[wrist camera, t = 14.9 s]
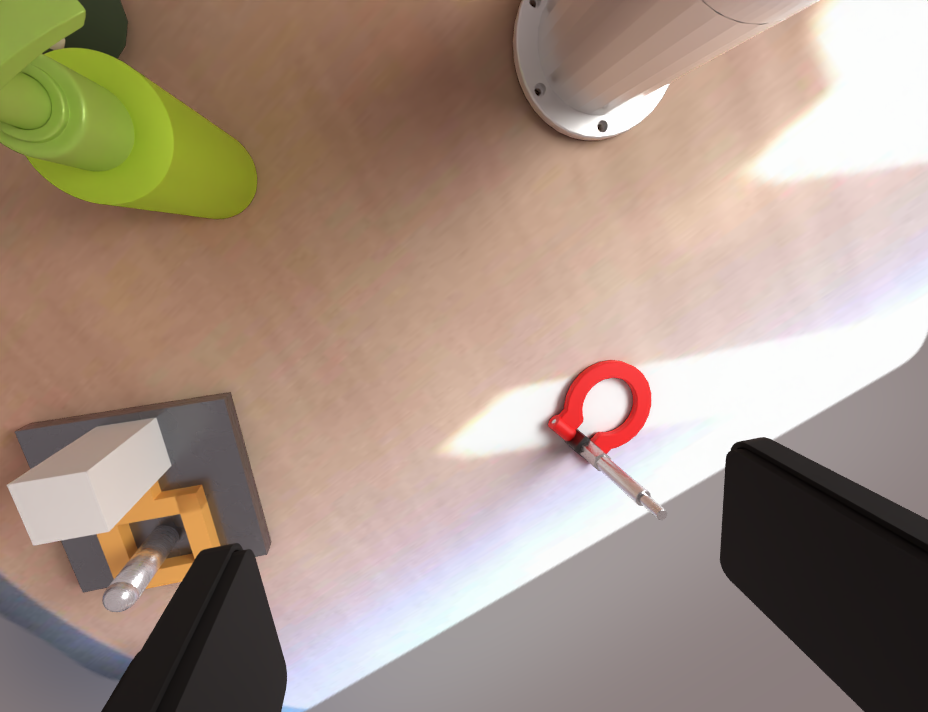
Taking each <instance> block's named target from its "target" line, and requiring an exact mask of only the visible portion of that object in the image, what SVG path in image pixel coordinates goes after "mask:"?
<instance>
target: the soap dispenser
mask: <svg viewBox="0 0 928 712" xmlns="http://www.w3.org/2000/svg"><path fill="white" fill-rule="evenodd" d="M85 17H86V10H85V8H84V7H83V6H82V4H81V3H80V2H79V1H78V0H0V143H2V144H3V145H5V146H6V147H8V148H10V149H12V150H14V151H16V152H18V153H20V154H23V155H25V156H26V157H27V159H28V160H29V162H30V163H31V164H32V165H33V167H34V168H35V169H36V170H37V171H38V172H39V173H40V174H41V175H42V176H43V177H44V178H45V179H46V180H48V181H49V182H50V183H51V184H53V185H54V186H56V187H57V188H59V189H60V190H62V191H64V192H66V193H67V194H69V195H72V196H74V197H76V198H79V199H82V200H85V201H88V202H92V203H97V204H105V205H112V206H120V207H128V208H135V209H143V210H150V211H158V212H166V213H173V214H181V215H189V216H196V217H204V218H212V219H224V218H229V217H233V216H235V215H237V214H239V213H241V212H242V211H243V210H245V209H246V208H247V207H248V205H249V204H250V203H251V201H252V200H253V198H254V195H255V192H256V188H257V173H256V169H255V165H254V163H253V160H252V158H251V156H250V155H249V153H248V152H247V150H246V149H245V148H244V147H243V146H242V145H241V144H240V143H239V142H238V141H237V140H236V139H234V138H233V137H232V136H230V135H229V134H227V133H226V132H224V131H223V130H221V129H220V128H219V127H217V126H216V125H214V124H213V123H211V122H210V121H208V120H207V119H205V118H204V117H203V116H201V115H200V114H198V113H197V112H195V111H194V110H192V109H191V108H190V107H188V106H187V105H185V104H184V103H182V102H181V101H179V100H178V99H176V98H175V97H174V96H172V95H171V94H169V93H168V92H166V91H165V90H163V89H162V88H161V87H159V86H158V85H156V84H155V83H153V82H152V81H150V80H149V79H147V78H146V77H145V76H143V75H142V74H140V73H139V72H137V71H136V70H134V69H133V68H131V67H130V66H129V65H127V64H125V63H124V62H122V61H120V60H118V59H116V58H114V57H112V56H110V55H108V54H105V53H102V52H99V51H95V50H91V49H84V48H63V49H58V50H54V51H50V52H48V53H45V54H42V53H43V52H45V51H46V50H47V49H49V48H50V47H51V46H53V45H54V44H56V43H57V42H59V41H60V40H62V39H63V38H65V37H67V36H68V35H70V34H72V33H73V32H75V31H77V30H78V29H80V28H81V27H82V26H83V25H84V22H85Z"/></svg>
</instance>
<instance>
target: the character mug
mask: <svg viewBox="0 0 928 712" xmlns="http://www.w3.org/2000/svg"><path fill="white" fill-rule="evenodd" d="M78 1H79V2H80V3H81V4H82V6H83V7H84V8H85V10H86V17H85V22H84V25H83V26H82V27H81V28H80V29H78V30H77V31H75V32H73V33H72V34H70V35H68V36H67V37H65V38H63V39H62V40H60V41H59V42H57V43H56V44H54V45H53V46H51V47H50V48H49V49H47V50H46V51H45V52H43V53H42V54H45V53H48V52H50V51H54V50H58V49H63V48H84V49H91V50H95V51H99V52H102V53H105V54H108V55H110V56H112V57H114V58H116V59H117V58H118V57H119V55H120V54H121V52H122V50H123V49H124V47H125V46H126V35H127V24H128V21H127V18H126V15H125V12H124V9H123V7H122V4H121V1H120V0H78Z"/></svg>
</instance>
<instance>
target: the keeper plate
mask: <svg viewBox="0 0 928 712" xmlns="http://www.w3.org/2000/svg"><path fill="white" fill-rule="evenodd" d="M149 418H157V421H158V424H159V428H160V431H161V434H162V437H163V440H164V443H165V447H166V450H167V453H168V456H169V459H170V462H171V467H170V468H169V469H168V470H167V471H166V472H165V473H164V474H163V475H162V476H161V477H160V478H159V479H158V483H159V486H160V489H161V492H162V491H168V490H174V489H179V488H185V487H191V486H196V485H202V486H203V489H204V492H205V496H206V499H207V502H208V506H209V509H210V513H211V516H212V519H213V523H214V526H215V529H216V533H217V536H218V539H219V543H220V546H223V545H228V544H233V543H239V544H240V545H241V546H242V548H243V550H247V549H251V550H252V551H253V553H254V555H255V557H257V556H262V555H267V553H268V550H269V548H270V545H271V540H270V536H269V532H268V528H267V525H266V521H265V517H264V514H263V510H262V506H261V503H260V499H259V495H258V492H257V488H256V484H255V480H254V477H253V473H252V469H251V466H250V462H249V458H248V455H247V451H246V447H245V444H244V440H243V436H242V432H241V429H240V425H239V421H238V418H237V414H236V410H235V407H234V403H233V399H232V396H231V392H229V393H223V394H216V395H210V396H204V397H197V398H191V399H184V400H178V401H171V402H165V403H158V404H152V405H145V406H139V407H133V408H126V409H120V410H113V411H107V412H100V413H94V414H87V415H81V416H74V417H68V418H62V419H55V420H49V421H42V422H36V423H30V424H28V425H27V426H25V427H23V428H21V429H19V430H17V431H15V434H16V436H17V438H18V441H19V443H20V445H21V448H22V450H23V452H24V455H25V457H26V460H27V462H28V464H29V467H30V469H32V468H33V467H35V466H37V465H38V464H40V463H41V462H43V461H44V460H46V459H47V458H49V457H50V456H52V455H54V454H55V453H57V452H58V451H60V450H61V449H63V448H64V447H66V446H67V445H69V444H71V443H72V442H74V441H75V440H77V439H78V438H80V437H81V436H83V435H84V434H86V433H87V432H89V431H91V430H92V429H94V428H95V427H97V426H103V425H110V424H116V423H123V422H129V421H136V420H143V419H149ZM129 526H130V529H131V532H132V534H133V537H134V540H135V543H136V546H137V548H138V550H137V551H136V552H135V554H134V555H133V556H132V557H131V559H130V560H129V561H128V562H127V564H126V565H125V566H124V567H123V569H122V570H121V571H120V573H119V574H118V575H117V576H116V578H115V579H114V578H113V576H112V573H111V570H110V568H109V565H108V563H107V560H106V557H105V555H104V552H103V550H102V547H101V545H100V542H99V539H98V537H97V534H94V535H89V536H83V537H78V538H72V539H67V540H62V541H61V542H62V544H63V547H64V549H65V551H66V554H67V556H68V558H69V561H70V563H71V566H72V568H73V570H74V573H75V575H76V577H77V580H78V582H79V584H80V587H81V589H82V591H83V592H88V591H92V590H97V589H102V588H107V587H108V588H107V589H106V590H105V592H104V595H103V605H104V607H105V608H106V609H107V610H109V611H111V612H121V611H124V610H127V609H128V608H130V607H131V606H133V605H134V604H135V603H136V601H137V600H138V599H139V597H140V596H141V594H142V593H143V591H144V590H145V588H146V587H147V585H148V584H149V582H150V581H151V580H152V578H153V577H154V575H155V574H156V572H157V571H158V569H159V568H160V566H161V565H162V563H163V562H164V561H165V559H167V558H172V557H177V556H182V555H187V554H193V553H192V549H191V546H190V543H189V540H188V537H187V534H186V531H185V528H184V525H183V521H182V518H181V515H180V514H177V515H171V516H166V517H160V518H155V519H149V520H144V521H138V522H133V523H129Z"/></svg>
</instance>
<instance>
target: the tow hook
mask: <svg viewBox="0 0 928 712" xmlns="http://www.w3.org/2000/svg"><path fill="white" fill-rule="evenodd" d="M608 378H620V379H622V380H624V381H625V382H626V383H627V384H628V385H629V387H630V388H631V391H632V395H633V405H632V410H631V412H630V414H629V416H628V418H627V419H626V420H625V422H624V423H623V424H622V425H620V426H619V427H618V428H616V429H614V430H612V431H608V432H598V433H596V434H595V435H594V436H593V437H592V438H591V439H589V438H587V437H586V436H585V435H584V434H583V433H581V432H580V431H579V430H578V429H577V428H578V427H579V426H580V425H581V424H582V422H583V414H582V407H583V402H584V399H585V397H586V395H587V393H588V392H589V391H590V389H591V388H592V387H593V386H594V385H596V384H597V383H598V382H600V381H602V380H604V379H608ZM650 407H651V391H650V387H649V384H648V381H647V380H646V378H645V377H644V375H643V374H642V373H641V372H640V371H639V370H638V369H637V368H636V367H634V366H632V365H629V364H627V363H625V362H622V361H615V360H608V361H602V362H598V363H596V364H594V365H592V366H589V367H588V368H587V369H585V370H584V371H583V372H581V373H580V374H579V375H578V376H577V378H576V379H575V380H574V381H573V383H572V384H571V386H570V388H569V390H568V392H567V395H566V399H565V404H564V409H563V410H562V411H561V412H560V414H559V415H555V416H553V417H552V418H551V419H550V420H549V423H548V426H549V428H551V429H552V430H553V431H554V432H555V433H557V434H558V435H559V436H560V437H562V438H563V439H564V441H565V442H566V443H567V444H568V445H569V446H570V447H571V448H572V449H573V450H574V451H576V452H577V453H578V454H579V455H581V456H582V457H583V458H584V459H585V460H587V461H588V462H589V463H590V464H591V465H592V466H594V467H595V468H596V469H597V470H598V471H602V472H603V473H604V474H605V475H606V476H607V477H608V478H609V479H610V480H611V481H613V482H614V483H615V484H616V485H617V486H618V487H619V488H620V489H621V490H622V491H623V492H625V493H626V494H627V495H628V496H629V497H630V498H631V499H632V500H633V501H634V502H635V503H637V504H638V505H640V506H644V507H645V508H646V509H648V510H649V511H650V512H651V513H652V514H653V515H654V516H655V517H656V518H658V519H659V520H663V519H665V518H666V516H667V511H666V510H665V509H664V508H662V507H661V506H660V505H659V504H658V503H657V502H655V501H654V500H653V499H652V498H651V496H650V493H649V492H648V491H647V490H646V489H645V488H643V487H642V486H641V485H640V484H639V483H638V482H636V481H635V480H634V479H633V478H632V477H630V476H629V475H628V474H627V473H626V472H624V471H623V470H622V469H621V468H620V467H618V466H617V465H616V464H615V463H614V462H612V461H611V458H610V457H609V456H608V455H607V453H608V452H609V451H610V450H611V449H612V448H617V447H619V446H621V445H623V444H625V443H627V442H628V441H630V440H631V439H632V438H633V437H634V436H636V435H637V433H638V432H639V431H640V430H641V428H642V427H643V426H644V424H645V422H646V420H647V418H648V416H649V411H650Z"/></svg>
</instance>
